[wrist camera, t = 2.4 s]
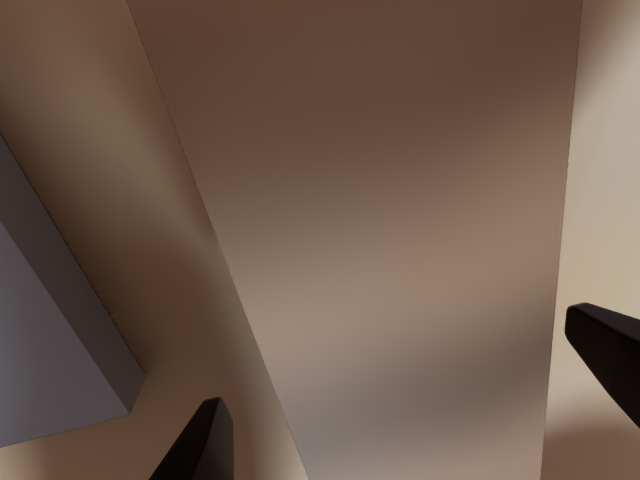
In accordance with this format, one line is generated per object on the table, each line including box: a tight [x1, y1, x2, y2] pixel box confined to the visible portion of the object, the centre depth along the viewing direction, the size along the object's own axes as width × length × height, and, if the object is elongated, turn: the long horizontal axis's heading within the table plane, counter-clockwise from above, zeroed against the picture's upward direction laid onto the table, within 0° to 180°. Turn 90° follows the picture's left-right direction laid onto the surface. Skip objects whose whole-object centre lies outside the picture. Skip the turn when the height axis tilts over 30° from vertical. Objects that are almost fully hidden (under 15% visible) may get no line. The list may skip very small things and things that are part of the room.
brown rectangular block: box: [126, 0, 582, 480], centre depth 10 cm, size 18×6×5 cm, turn 12°
